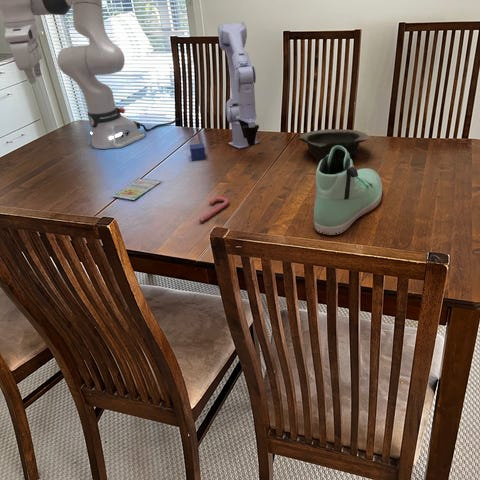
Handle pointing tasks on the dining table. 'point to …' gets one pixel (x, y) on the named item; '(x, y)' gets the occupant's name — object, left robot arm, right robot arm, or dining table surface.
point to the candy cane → (215, 208)
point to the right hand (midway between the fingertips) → (249, 141)
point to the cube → (197, 152)
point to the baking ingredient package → (136, 189)
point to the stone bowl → (333, 141)
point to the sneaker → (343, 192)
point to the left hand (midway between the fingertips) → (36, 79)
